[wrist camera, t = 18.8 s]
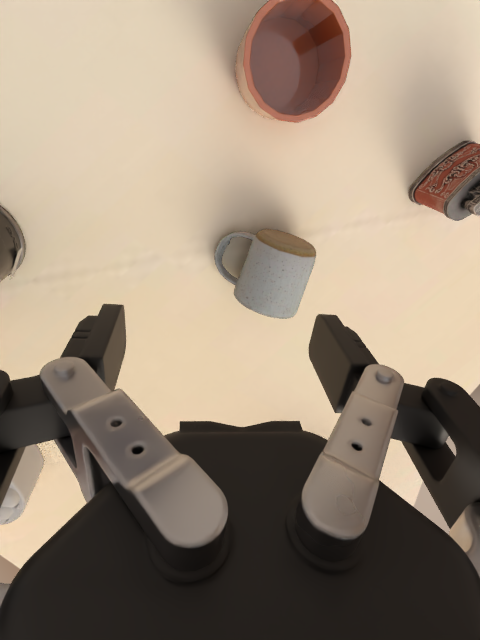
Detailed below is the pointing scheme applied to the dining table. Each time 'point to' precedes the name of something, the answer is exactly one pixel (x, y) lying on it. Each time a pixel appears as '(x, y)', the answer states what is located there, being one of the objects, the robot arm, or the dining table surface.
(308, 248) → the ceramic mug
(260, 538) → the robot arm
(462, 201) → the lighter
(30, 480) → the lumpy-topped squat cylinder
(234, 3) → the dining table surface
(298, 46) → the pen cup
